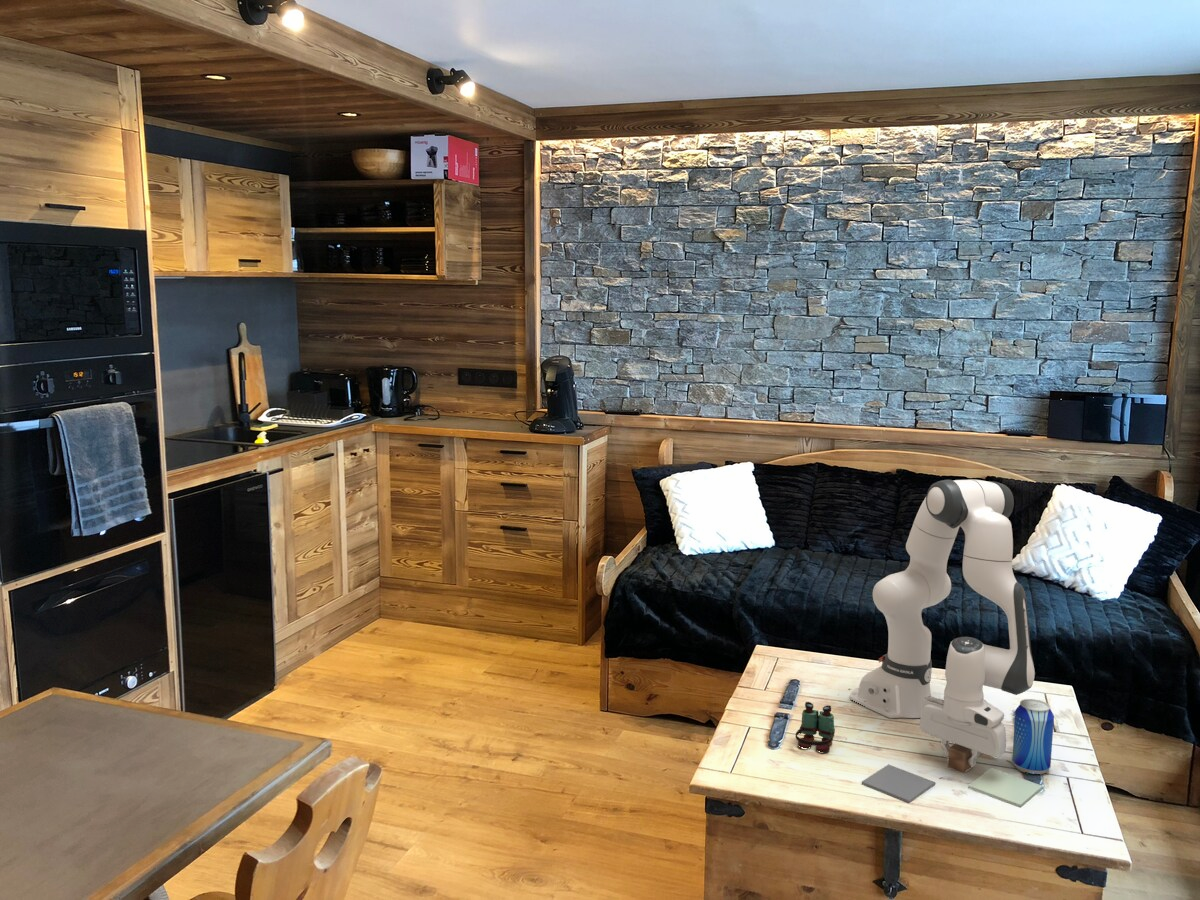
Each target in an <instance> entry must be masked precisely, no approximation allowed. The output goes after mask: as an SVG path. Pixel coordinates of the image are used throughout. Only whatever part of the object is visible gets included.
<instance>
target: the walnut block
mask: <svg viewBox="0 0 1200 900" xmlns="http://www.w3.org/2000/svg"><path fill="white" fill-rule="evenodd" d="M969 756H973V753H972V749H970V748H967V747H964V746H961V745H958V744H955V743H953V744H952V745H950V747H949V753H948V758H947V768H949V769H951V770H954V771H957V772H959V773H963V774H965V773H967V771H968V770H970V769H971V768H972V766H970V765H967V764H966V762H967V757H969Z"/></svg>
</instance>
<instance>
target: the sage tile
mask: <svg viewBox="0 0 1200 900" xmlns="http://www.w3.org/2000/svg"><path fill="white" fill-rule="evenodd" d="M967 787H968V789H970V790H973V791H976V792H978V793H981V794H983V795H987V796H989V797H992V798H994V799H997V800H1000V801H1003V802H1005V803H1007V804H1011V805H1013V806H1016V807H1018V808H1022V807H1023V806H1024V805H1025V804H1027V802H1029V800H1031V799H1033V797H1034V796H1036V795H1037V794H1038V793H1039V792H1040V791H1042V790H1043V787H1044V786H1043V785H1041V784H1038V783H1036V782H1032V781H1029V780H1027V779H1025V778H1021V777H1018V776H1015V775H1014V774H1010V773H1007V772H1004V771H1001V770H999V769H996V768H993V767H991V768H990V769H988V770H987V771H985V772H984V773H983V774H982V775H980V776H978V777H977V779H975V780H973V782H971V783H970V784H968V786H967Z"/></svg>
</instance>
